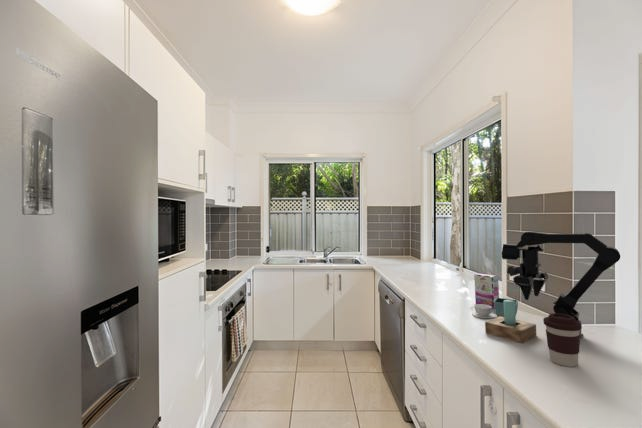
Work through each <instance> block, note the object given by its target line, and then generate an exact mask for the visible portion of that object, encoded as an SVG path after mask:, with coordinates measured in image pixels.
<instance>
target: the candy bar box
mask: <svg viewBox="0 0 642 428" xmlns="http://www.w3.org/2000/svg"><path fill="white" fill-rule="evenodd" d="M473 276H474V292H475V293H474V294H475V296H474V297H475V298H474V299H475V305H476V304H485V305H490V306H491V307H492V308H491V309H495V306H494V301H495V300H496V298H500V291H499V290H500V289H499V287H500V286H499V276H498V275H493V274H485V273H479V272H478V273H474V275H473Z"/></svg>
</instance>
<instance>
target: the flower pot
mask: <svg viewBox="0 0 642 428" xmlns="http://www.w3.org/2000/svg"><path fill="white" fill-rule="evenodd" d="M504 300H512V301H515V314H516V315H517V313H518V307H519V306H518V305H519V300H518V299H511V298H503V297H499V298H496V300H495V301H494V306H495V308H494V311H495V314H496V315H495V316H496V317H499V316H502V317H504Z"/></svg>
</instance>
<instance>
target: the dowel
mask: <svg viewBox="0 0 642 428" xmlns="http://www.w3.org/2000/svg"><path fill="white" fill-rule="evenodd" d="M512 300H513V299H512ZM512 300H504V323H505V325H509V326H513V327H515V326H516V320H517V319H516V318H517V314H515V301H512Z"/></svg>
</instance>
